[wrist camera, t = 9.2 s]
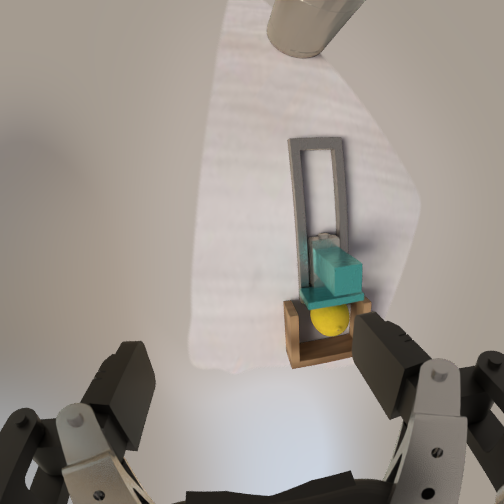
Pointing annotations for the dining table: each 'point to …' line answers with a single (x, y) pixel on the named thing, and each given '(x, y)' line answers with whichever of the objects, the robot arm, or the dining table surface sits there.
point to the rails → (298, 197)
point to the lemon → (330, 319)
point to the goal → (321, 348)
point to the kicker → (331, 274)
